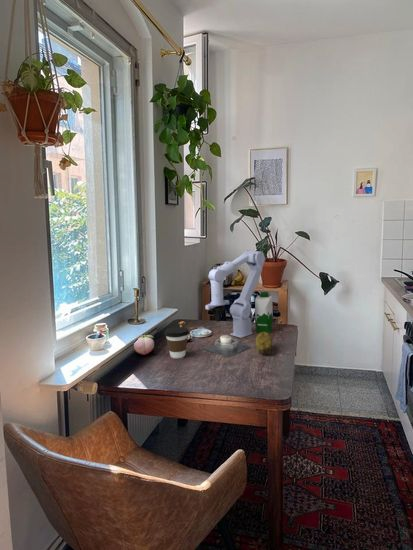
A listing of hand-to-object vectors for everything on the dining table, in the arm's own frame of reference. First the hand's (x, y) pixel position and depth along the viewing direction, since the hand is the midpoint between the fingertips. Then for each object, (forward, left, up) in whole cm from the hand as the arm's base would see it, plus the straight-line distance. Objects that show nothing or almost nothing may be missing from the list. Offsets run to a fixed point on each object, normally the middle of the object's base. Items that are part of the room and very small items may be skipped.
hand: (218, 321), depth 199 cm
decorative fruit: (+36, -12, -10) cm, 39 cm away
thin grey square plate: (+6, +11, -10) cm, 16 cm away
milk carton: (-27, +7, -10) cm, 30 cm away
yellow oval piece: (-3, +26, -10) cm, 28 cm away
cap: (+6, +11, -9) cm, 15 cm away
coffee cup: (+27, +1, -10) cm, 29 cm away
